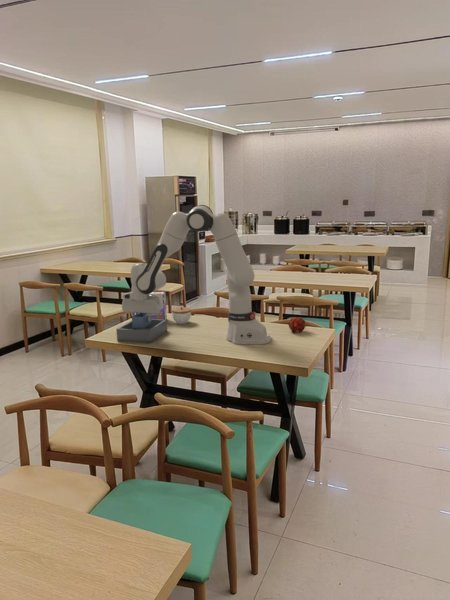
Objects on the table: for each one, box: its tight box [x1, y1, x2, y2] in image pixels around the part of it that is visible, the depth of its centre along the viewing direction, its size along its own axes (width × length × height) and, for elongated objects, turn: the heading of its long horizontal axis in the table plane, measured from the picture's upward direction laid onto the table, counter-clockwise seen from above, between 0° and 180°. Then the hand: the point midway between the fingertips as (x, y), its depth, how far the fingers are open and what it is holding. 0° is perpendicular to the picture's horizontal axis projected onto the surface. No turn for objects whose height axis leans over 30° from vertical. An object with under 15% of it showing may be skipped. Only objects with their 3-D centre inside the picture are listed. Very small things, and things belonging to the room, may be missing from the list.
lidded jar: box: [171, 306, 192, 325], centre depth 267 cm, size 11×11×9 cm
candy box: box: [149, 291, 168, 320], centre depth 273 cm, size 14×6×16 cm, turn 84°
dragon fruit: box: [288, 316, 307, 334], centre depth 246 cm, size 8×8×12 cm
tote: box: [131, 313, 151, 329], centre depth 243 cm, size 6×10×6 cm, turn 164°
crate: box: [116, 319, 168, 344], centre depth 244 cm, size 18×22×6 cm
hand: (141, 320), depth 243 cm, fingers closed on tote, 6 cm apart
